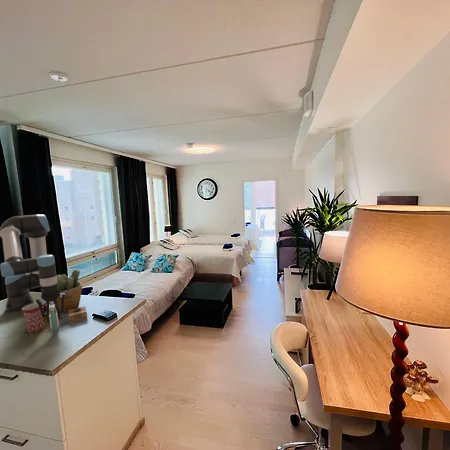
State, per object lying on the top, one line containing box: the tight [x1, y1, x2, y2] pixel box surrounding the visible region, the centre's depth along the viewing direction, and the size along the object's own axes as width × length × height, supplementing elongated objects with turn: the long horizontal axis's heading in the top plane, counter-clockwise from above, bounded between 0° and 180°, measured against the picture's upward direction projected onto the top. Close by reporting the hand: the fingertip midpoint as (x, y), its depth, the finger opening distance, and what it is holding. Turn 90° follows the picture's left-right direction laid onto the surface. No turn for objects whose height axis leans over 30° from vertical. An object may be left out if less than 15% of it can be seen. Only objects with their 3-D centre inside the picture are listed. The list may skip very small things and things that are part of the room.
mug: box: [21, 302, 46, 333], centre depth 144 cm, size 13×9×14 cm
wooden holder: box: [68, 305, 88, 325], centre depth 153 cm, size 9×9×5 cm
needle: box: [49, 306, 59, 334], centre depth 138 cm, size 2×2×14 cm
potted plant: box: [52, 269, 83, 314], centre depth 165 cm, size 18×19×25 cm
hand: (54, 326), depth 138 cm, fingers closed on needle, 2 cm apart
